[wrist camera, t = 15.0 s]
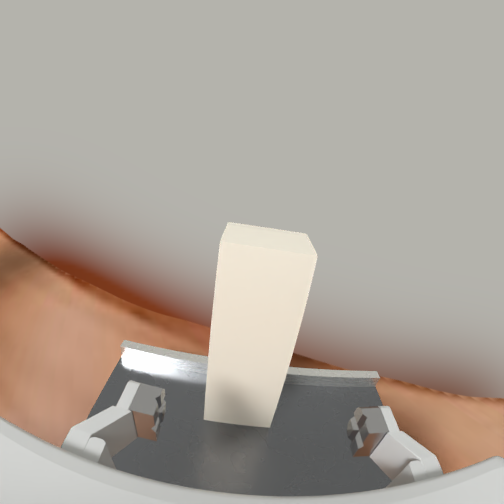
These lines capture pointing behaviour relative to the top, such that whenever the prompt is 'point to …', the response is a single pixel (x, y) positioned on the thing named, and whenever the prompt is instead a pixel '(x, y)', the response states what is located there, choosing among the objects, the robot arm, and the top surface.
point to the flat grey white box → (247, 431)
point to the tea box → (255, 321)
